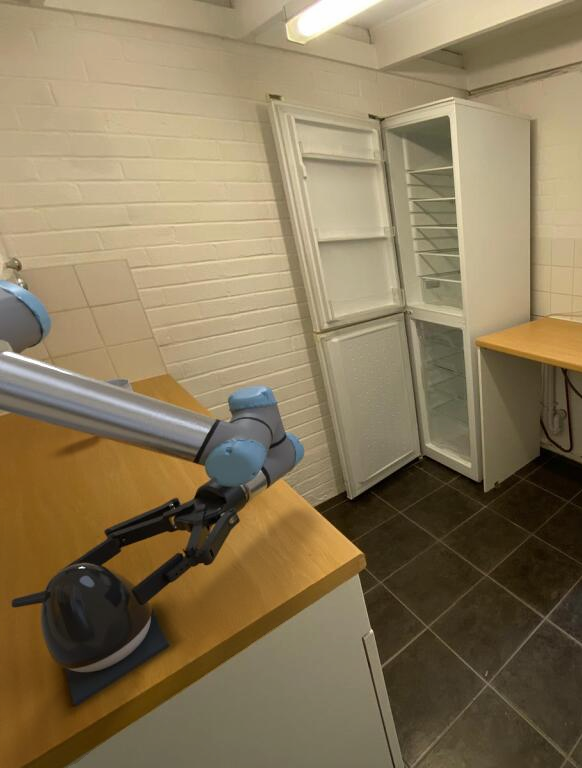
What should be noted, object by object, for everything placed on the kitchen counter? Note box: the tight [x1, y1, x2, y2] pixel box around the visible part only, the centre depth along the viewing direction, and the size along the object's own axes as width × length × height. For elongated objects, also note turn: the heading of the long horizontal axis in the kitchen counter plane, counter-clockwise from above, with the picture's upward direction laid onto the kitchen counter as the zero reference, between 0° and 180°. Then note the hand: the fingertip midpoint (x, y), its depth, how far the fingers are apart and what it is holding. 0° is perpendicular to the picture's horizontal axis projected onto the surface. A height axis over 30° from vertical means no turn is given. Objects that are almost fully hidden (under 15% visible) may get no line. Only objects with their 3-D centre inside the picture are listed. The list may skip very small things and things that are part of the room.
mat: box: [65, 609, 170, 708], centre depth 60 cm, size 10×10×1 cm
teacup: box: [102, 378, 134, 392], centre depth 135 cm, size 14×11×8 cm
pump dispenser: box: [10, 563, 153, 672], centre depth 56 cm, size 10×10×15 cm
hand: (99, 588), depth 57 cm, fingers open, 13 cm apart
